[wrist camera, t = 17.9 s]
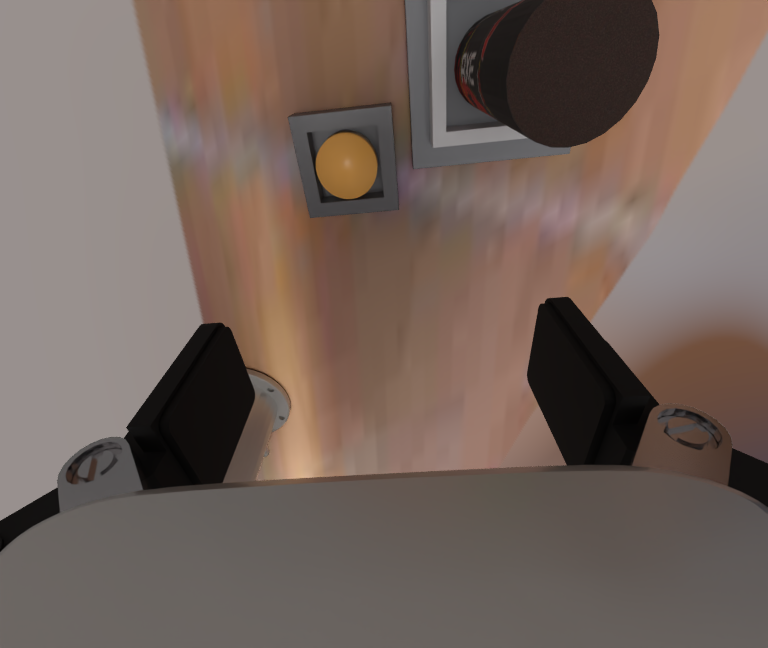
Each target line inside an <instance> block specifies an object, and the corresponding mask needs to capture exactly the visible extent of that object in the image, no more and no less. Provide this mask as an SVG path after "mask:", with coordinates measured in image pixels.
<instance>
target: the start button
mask: <svg viewBox="0 0 768 648" xmlns="http://www.w3.org/2000/svg"><path fill="white" fill-rule="evenodd" d="M377 168H378V158H377V154H376V151H375V148H374V146H373V145H372V143H371V142H370V141H369V140H368V139H367V138H366V137H365V136H364V135H362V134H361V133H358V132H356V131H352V130H342V131H338V132H336V133H334V134H332V135H331V136H330V137H329V138H328V139H327V140H326V141H325V142H324V144H323V145H322V146H321V148H320V149H319V151H318V154H317V158H316V172H317V175H318V178H319V180H320V182H321V184H322V185H323V187H324V188H325V189H326V190H327V191H328V192H330V193H331V194H332V195H334V196H336V197H339V198H343V199H354V198H358V197H360V196H362V195H364V194H365V193H366V192H368V191H369V189H370V188H371V187H372V185H373V184H374V182H375V179H376V175H377Z"/></svg>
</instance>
